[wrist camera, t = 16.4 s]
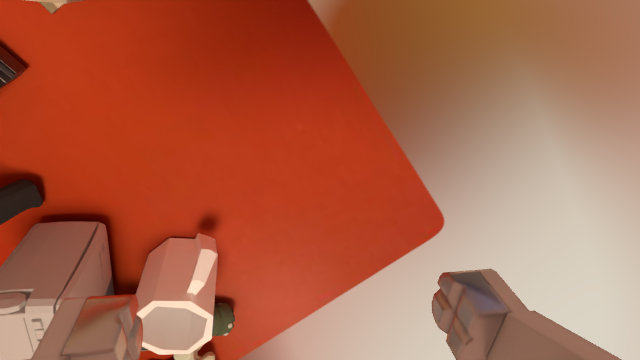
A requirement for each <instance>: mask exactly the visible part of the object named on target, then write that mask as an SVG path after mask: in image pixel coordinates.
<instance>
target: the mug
mask: <svg viewBox="0 0 640 360" xmlns="http://www.w3.org/2000/svg"><path fill="white" fill-rule="evenodd" d="M217 262H218V253H217V248H216V241H215V239H214V238H211V237H209V236H207V235H203V234H200V233H198V234H197V236H196V238H195V239H185V238H169V239H167V240H166V241H165V242H163V243H162V244H161V245H160V246H158V247H157V248H156V249H154V250H153V251H152V252H150V253H149V254H148V257H147V261H146V264H145V267H144V270H143V273H142V276H141V280H140V283H139V286H138V289H137V292H136V296H137V300H138V304H139V307H138V310H137V314H136V315H138V316H139V317H140V318H141V319H142V324H143V341H142V347H144V348H146V349H148V350H150V351H153V352H155V353H157V354H159V355H162V354H190V353H191V352H193V351H194V350H196V349H197V348H199V347H200V346H202V345H203V344H205V343H206V342H208V341H209V340H211V339H212V327H213V315H214V302H215V289H216V276H217Z"/></svg>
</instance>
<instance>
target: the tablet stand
mask: <svg viewBox="0 0 640 360" xmlns="http://www.w3.org/2000/svg"><path fill="white" fill-rule="evenodd" d="M25 70H26V68H25V67H24V66H23V65H22V64H21V63H20V62H18V61H17V60H16V59H15V58H14V57H13V56H11V55H10V54H9V53H8V52H7V51H6V50H4V49H3V48H2V47H1V46H0V88H2V87H3V86H5V85H6V84H8V83H10V82H11V81H13V80H14V79H16V78H17V77H18V76H19V75H21V74H22V73H23V72H24V71H25Z"/></svg>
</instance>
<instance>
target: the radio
mask: <svg viewBox="0 0 640 360" xmlns="http://www.w3.org/2000/svg"><path fill="white" fill-rule="evenodd" d="M109 295H114V287H113V279H112V271H111V262H110V254H109V246H108V238H107V232H106V226H105V224H103V223H99V222H87V221H66V222H49V223H36V224H35V225H33V227H32V228H31V229H30V230H29V232H28V233H27V234H26V236H25V237H24V238H23V239H22V241H21V242H20V243H19V244H18V246H17V247H16V248H15V249H14V251H13V252H12V253H11V254H10V256H9V257H8V258H7V260H6V261H5V262H4V263H3V265H2V266H1V267H0V360H24V359H31V358H32V356H33V354H34V352H35V350H36V348H37V347H38V345H39V343H40V341H41V339H42V337H43V335H44V333H45V332H46V330H47V328H48V326H49V324H50V322H51V320H52V318H53V317H54V315H55V313H56V311H57V309H58V307H59V305H60V303H61V302H62V301H64V300H65V299H66V298H75V297H90V296H109Z"/></svg>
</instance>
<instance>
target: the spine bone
mask: <svg viewBox="0 0 640 360" xmlns="http://www.w3.org/2000/svg"><path fill="white" fill-rule="evenodd" d="M202 346H203V345H202ZM202 346H200V347H199V348H197V349H196V350H194V351H193V352H191V353H190V354H174V356H173V357H174V358H175V360H215V354H214V353H213V352H207V353H206V354H205V355H203V356H201V357H200V356H198V350H200V349H201V347H202Z"/></svg>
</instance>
